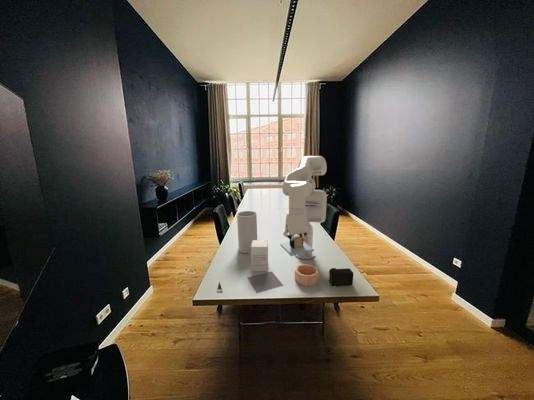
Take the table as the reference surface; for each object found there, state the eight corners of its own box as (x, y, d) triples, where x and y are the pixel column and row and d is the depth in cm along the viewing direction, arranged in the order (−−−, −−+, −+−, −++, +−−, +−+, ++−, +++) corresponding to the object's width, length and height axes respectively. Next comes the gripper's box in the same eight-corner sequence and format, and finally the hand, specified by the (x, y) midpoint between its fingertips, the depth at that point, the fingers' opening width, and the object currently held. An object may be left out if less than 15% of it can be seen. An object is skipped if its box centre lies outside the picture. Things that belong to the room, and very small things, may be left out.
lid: (280, 245, 111) (280, 234, 109) (301, 241, 115) (301, 230, 113) (291, 256, 100) (291, 244, 99) (313, 251, 104) (314, 239, 103)
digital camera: (348, 279, 112) (348, 266, 110) (352, 285, 106) (353, 272, 105) (327, 280, 111) (328, 267, 110) (331, 286, 106) (332, 273, 104)
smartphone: (216, 291, 103) (220, 274, 118) (217, 293, 103) (220, 275, 118) (232, 290, 104) (233, 273, 118) (232, 292, 104) (233, 274, 118)
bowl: (291, 277, 114) (291, 267, 113) (309, 272, 118) (309, 262, 117) (302, 289, 104) (303, 278, 103) (322, 283, 109) (322, 272, 107)
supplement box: (253, 263, 129) (252, 239, 125) (268, 263, 128) (268, 239, 125) (251, 272, 120) (250, 246, 116) (268, 272, 119) (267, 246, 116)
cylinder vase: (260, 247, 149) (260, 212, 144) (251, 255, 139) (249, 217, 133) (245, 244, 155) (244, 210, 149) (235, 251, 144) (233, 215, 139)
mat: (247, 278, 114) (247, 277, 114) (271, 272, 119) (271, 271, 119) (256, 294, 101) (256, 293, 101) (283, 286, 107) (283, 285, 106)
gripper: (308, 206, 109) (307, 240, 113) (277, 210, 103) (277, 246, 108) (316, 210, 102) (315, 246, 107) (283, 215, 97) (284, 252, 101)
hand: (296, 245), depth 107 cm, fingers closed on lid, 4 cm apart
